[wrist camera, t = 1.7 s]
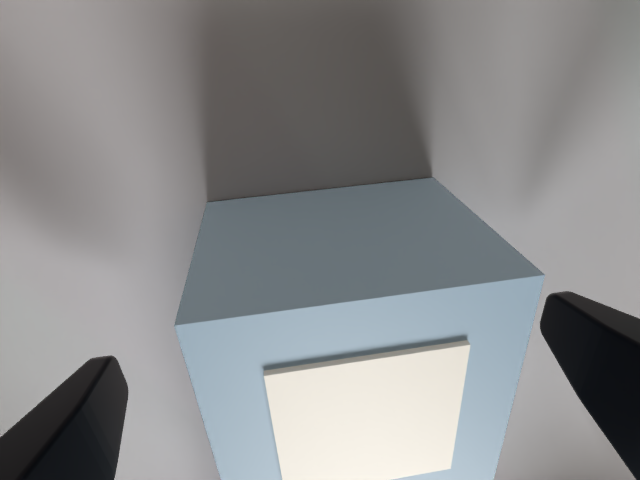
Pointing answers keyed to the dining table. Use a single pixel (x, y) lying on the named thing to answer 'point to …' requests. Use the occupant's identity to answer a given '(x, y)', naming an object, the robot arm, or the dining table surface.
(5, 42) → the dining table surface
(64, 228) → the dining table surface
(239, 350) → the light blue block
